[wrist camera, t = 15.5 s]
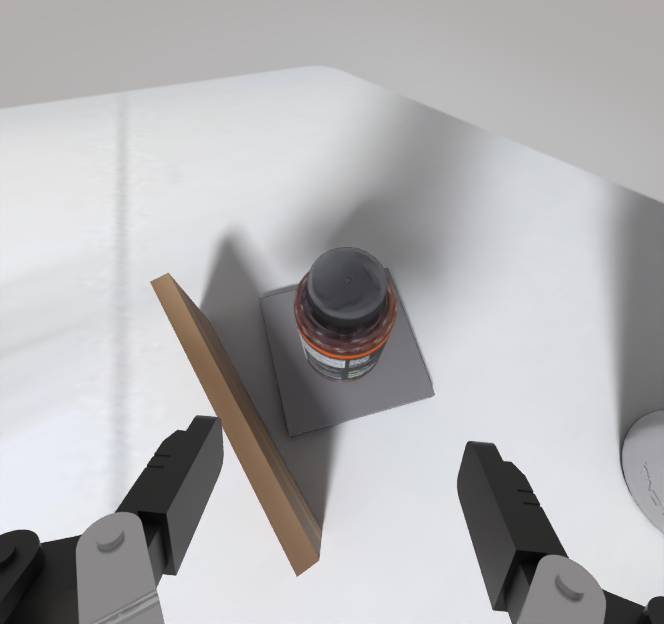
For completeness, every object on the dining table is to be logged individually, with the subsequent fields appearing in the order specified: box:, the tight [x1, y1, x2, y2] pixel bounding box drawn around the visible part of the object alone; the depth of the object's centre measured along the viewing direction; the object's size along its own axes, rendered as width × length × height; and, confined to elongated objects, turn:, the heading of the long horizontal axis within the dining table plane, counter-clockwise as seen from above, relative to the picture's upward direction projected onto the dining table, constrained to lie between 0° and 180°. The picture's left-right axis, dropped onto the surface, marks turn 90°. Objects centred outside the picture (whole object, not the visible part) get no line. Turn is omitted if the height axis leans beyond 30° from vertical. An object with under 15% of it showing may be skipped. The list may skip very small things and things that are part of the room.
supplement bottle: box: [294, 247, 397, 383], centre depth 23 cm, size 6×6×11 cm
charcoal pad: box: [260, 268, 435, 437], centre depth 29 cm, size 11×11×1 cm
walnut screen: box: [150, 273, 322, 577], centre depth 24 cm, size 1×18×8 cm, turn 32°
